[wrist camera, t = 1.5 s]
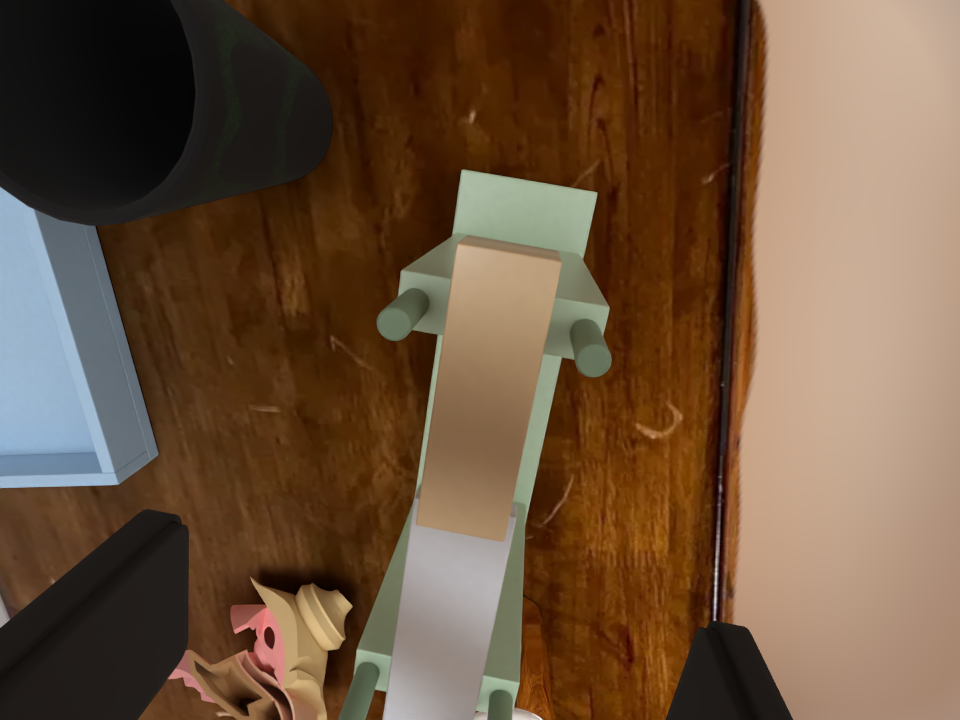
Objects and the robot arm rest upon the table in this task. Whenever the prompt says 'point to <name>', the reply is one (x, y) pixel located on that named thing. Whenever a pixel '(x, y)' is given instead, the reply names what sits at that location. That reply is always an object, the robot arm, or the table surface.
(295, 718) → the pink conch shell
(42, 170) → the cup
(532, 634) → the milkshake
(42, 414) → the tray
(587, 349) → the rack
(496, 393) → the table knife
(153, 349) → the table surface
